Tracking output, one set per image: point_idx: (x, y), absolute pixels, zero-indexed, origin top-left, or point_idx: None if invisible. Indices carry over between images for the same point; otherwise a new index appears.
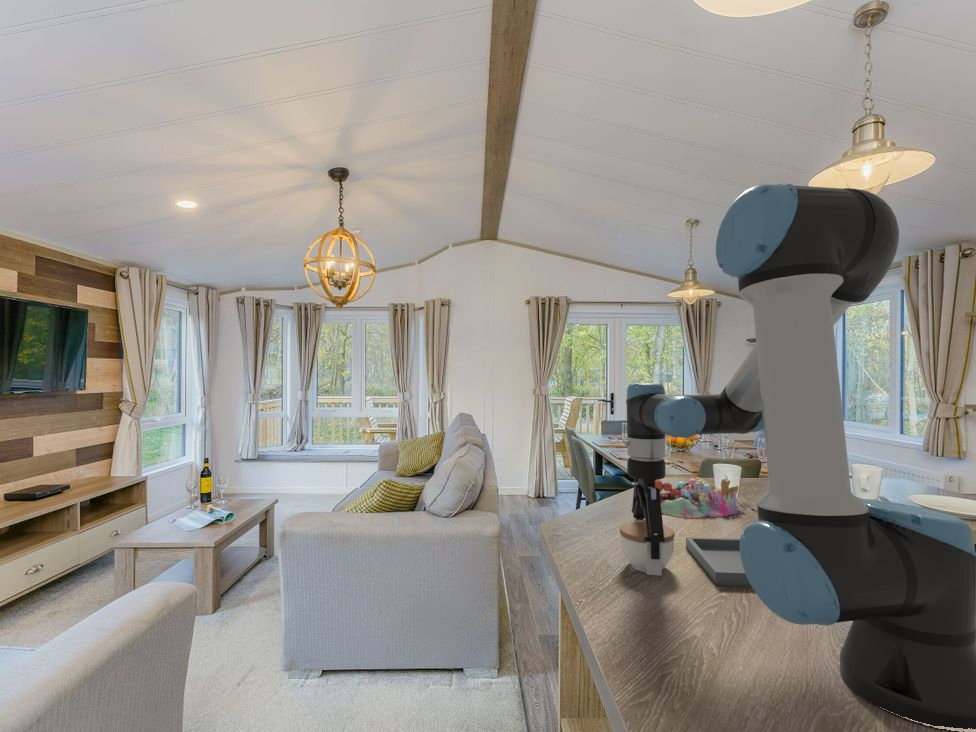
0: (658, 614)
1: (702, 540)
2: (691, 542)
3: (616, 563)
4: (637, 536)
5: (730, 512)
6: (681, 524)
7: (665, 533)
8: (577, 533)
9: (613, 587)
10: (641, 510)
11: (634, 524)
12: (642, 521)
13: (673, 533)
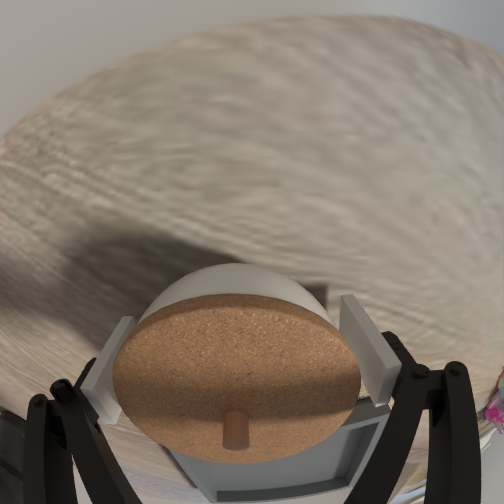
0: (7, 299)
1: (373, 431)
2: (354, 424)
3: (249, 222)
4: (113, 371)
5: (486, 416)
6: (489, 366)
7: (192, 450)
8: (487, 120)
9: (61, 213)
10: (380, 436)
11: (302, 379)
12: (378, 391)
13: (212, 461)
